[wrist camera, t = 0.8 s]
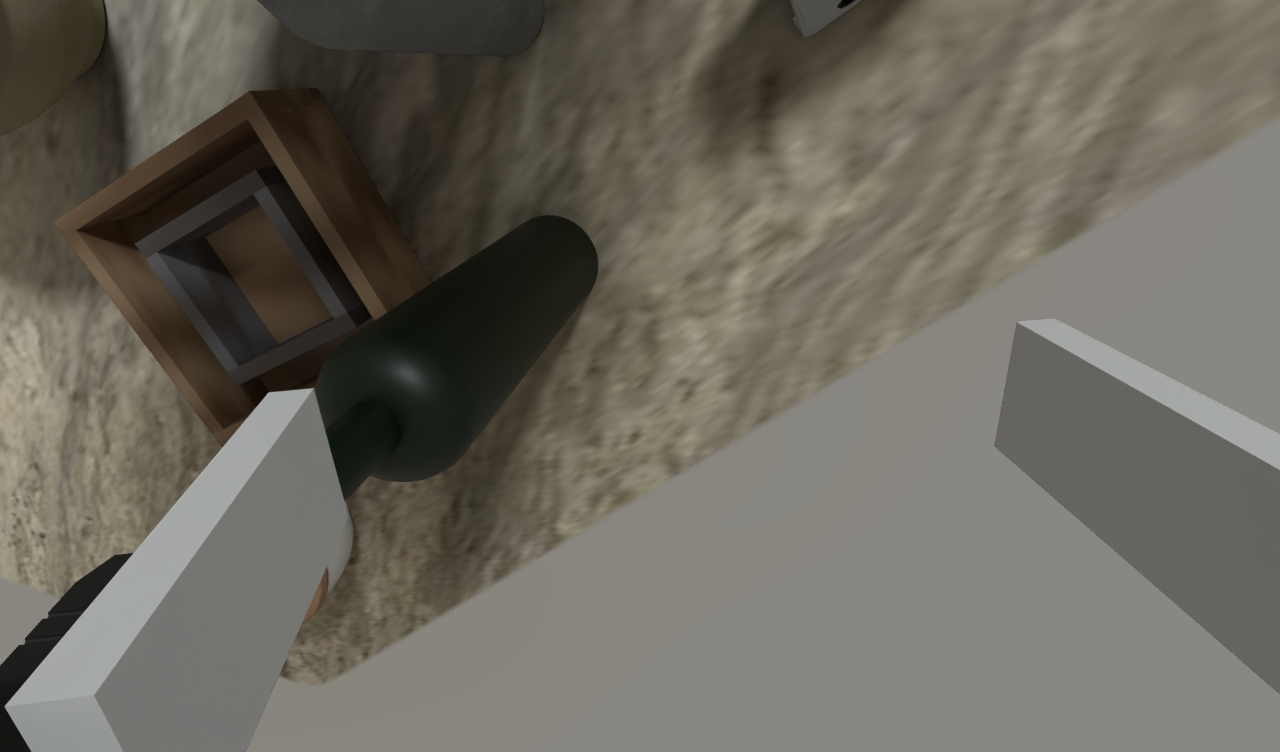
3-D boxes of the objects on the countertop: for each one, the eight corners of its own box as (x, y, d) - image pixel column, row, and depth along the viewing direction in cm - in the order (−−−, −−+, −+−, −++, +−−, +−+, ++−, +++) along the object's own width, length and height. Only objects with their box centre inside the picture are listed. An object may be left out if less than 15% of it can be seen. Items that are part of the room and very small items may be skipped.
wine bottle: (489, 260, 44) (52, 568, 17) (548, 194, 42) (154, 429, 15) (556, 324, 45) (245, 712, 18) (617, 264, 43) (367, 602, 16)
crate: (136, 203, 46) (53, 221, 41) (316, 88, 42) (249, 91, 36) (279, 407, 51) (222, 447, 46) (456, 324, 46) (416, 358, 41)
